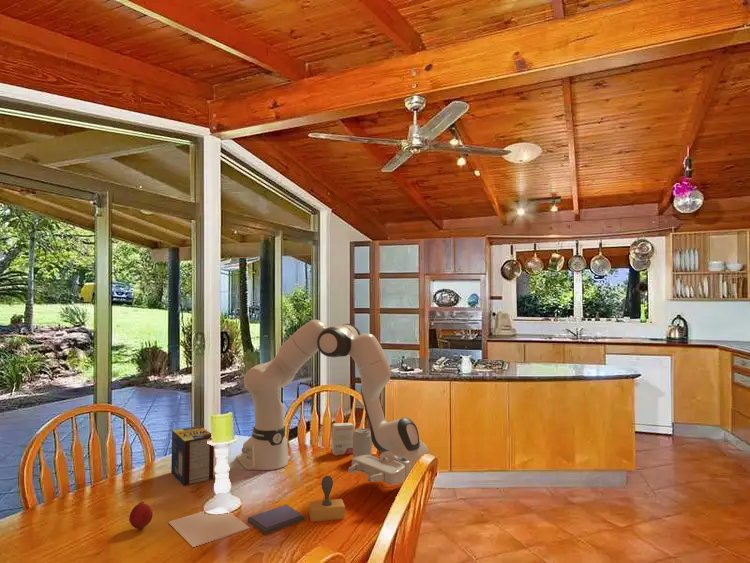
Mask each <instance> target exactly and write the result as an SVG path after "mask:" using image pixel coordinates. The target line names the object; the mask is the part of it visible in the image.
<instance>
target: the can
mask: <svg viewBox="0 0 750 563" xmlns="http://www.w3.org/2000/svg"><path fill="white" fill-rule="evenodd" d="M372 446H373V443H372V439H371V430H370V428H369V429H368V428H363V427H362V428H356V429H354V433H353V454H352V458H353V457H357V456H361V455H372V451H373V450H372ZM372 456H373V455H372Z"/></svg>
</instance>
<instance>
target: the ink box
mask: <svg viewBox="0 0 750 563" xmlns="http://www.w3.org/2000/svg"><path fill="white" fill-rule="evenodd" d="M331 431H332V433H331V434H332V435H331V437H332V438H331V439H332V441H331V443H332V444H331V452H332V454H333V455H334V456H341V455H353V433H354V432H355V425H354V423H353V422H337V423H332V430H331Z"/></svg>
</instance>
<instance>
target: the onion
mask: <svg viewBox="0 0 750 563" xmlns="http://www.w3.org/2000/svg"><path fill="white" fill-rule="evenodd" d="M153 515H154V514H153V509H152V508H151V507H150V505H149V504H147V503H145V500H141V501H140V502H138V504H136V505H135V506H134V507H133V508H132V510H131V512H130V514H129V518H128V519H129V523H130V525H131V526H132V527H133V528H135V529H138V530H140V531H141V530H142V531H143V529H145V528H146V527H147V526H148V525H149V524H150V523H151V521H152V519H153Z"/></svg>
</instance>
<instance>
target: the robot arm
mask: <svg viewBox="0 0 750 563" xmlns="http://www.w3.org/2000/svg"><path fill="white" fill-rule="evenodd" d="M318 351H319V352H320V354H322V355H323V356H325V357H329V358H338V357H347V356H350V357H351V358H352V359H353V361H354V363H355V367H356V368H357V370H358V373H359V377H360V380H361V384H360V394H361V399H362V400H361V401H362V404H363V406H364V411H365V414H366V417H367V420H368V425H369V430H370V433H371V439H372V446H374V448H375V449H376V450H377V451H379V452H380V455H379V457H378V456H375V455H361V456H357V457H353V456H352V458H351V466H349V467H348V473H349V474H351V475H352V474H356V472H360V473H362V474H365V475H366V476H367V481H368V482H371V483H374V482H384V483H386V484H389V485H393V486H394V485H395V486H396V485H400V484H403V483H405V482H404V480H405V479H406V477H407V475H408V474H409V472H410V470H411V468H412V467H413V466H414V463H415V462H416V461H417V460H418V459H419V458H420V457H421V456H422V455H424V454H429V455H430V452H429V448H428V446H427V445H426V444H425V443H424V442H423V441H422V440H421V439H420V435H419V431H418V427H417V425H416V423H415V422H414V421H413V420H412V419H410V418H409V417H406V416H405V417H401V418H398V419H394V420H391V421H387V420H386V419H385V418H386V417H385V415H384V411H383V408H382V407H383V406H382V404H381V400H380V396H381V392H382V391H383V389H384V388H385V386H386V385H388V384H389V381H390V379H391V376H392V369H391V365H390V363H389V361H388V360H389V359H388V358H387V356H386V353H385V351H384V349H383V347H382V345H381V344H380V343H379V341H378V339H377V337H376V336H375V335H374V334H372V333H368V332H367V333H366V332H365V333H361V332H360V330H359V329H358V327H357V326H355V325H353V324H351V323H342V324H336V325H333V326H327V325H326V323H324V322H323V321H322V320H319V319H311V320H309V321H308V322H306V323H305V324H304V325H301V327H300V328H298V329H297V330H296V331H295V332H294V333H293V334H292V335H290V337H288V339H286V341H285V342H283V343H282V344H281V345H280V347H279V348H278V353H277V354H276V355H275V357H274V358H273V359H271V360H268V361H267V362H263V363H259V364H255V365H254V366H253V367H251V368H250V369H248V370H247V371H246V372H245V373H244V375H243V386H244V388H245V390H246V391H247V392H248V393H250V396H251V397H252V402H253V405H254V426H252V427H251V430H252V433H251V436H250V437H249V438H248V439H247V440H246V441H244V443H243V445H242V448H241V453H239V454H237V455H236V456H235V459H236V460H237V461H238V462H239V463H240V464H241V466H242V467H243V468H244V469H245V470H248V471H249V470H250V471H252V470H258V471H272V470H277V469H281V468H284V467H286V466H287V465H288V463H289V461H290V460H291V456H290V455H289V452H288V451H289V450H288V439H287V437H285V436H286V426H285V405H284V403H283V402H281V400H280V398H279V397H280V396H279V393H278V392H279V389H282V388H285V387H286V386H287V385H289V384H290V383H291V382H293V380H294V379H295V376H296V374H297V373H298V372H299V370H300V369H301V368H302V367H303V366H304V365H305V364H306V363H307V362H308V361H309V360H310V359H311V358H312V357H314V355H316V354H317V353H318ZM410 473H411V472H410Z"/></svg>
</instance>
